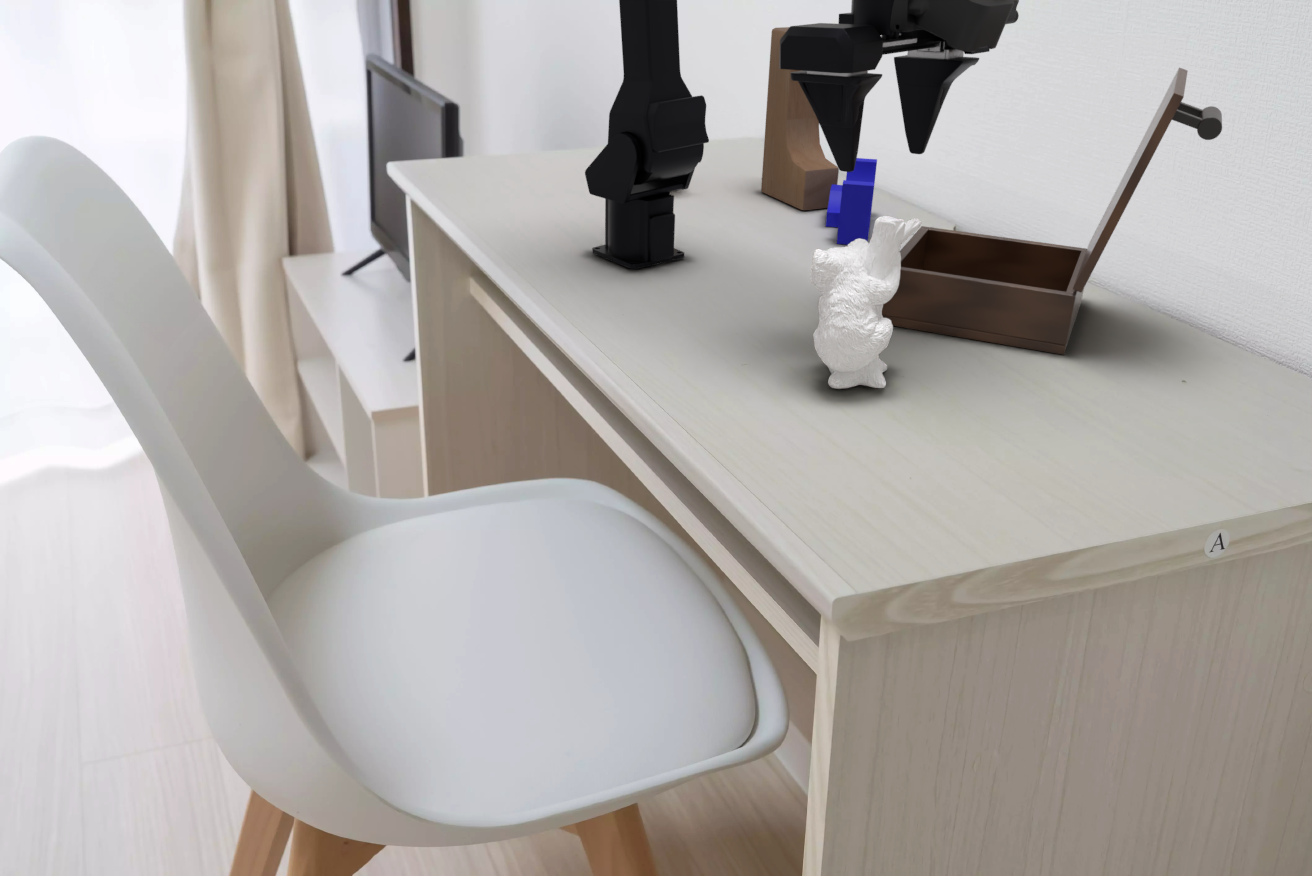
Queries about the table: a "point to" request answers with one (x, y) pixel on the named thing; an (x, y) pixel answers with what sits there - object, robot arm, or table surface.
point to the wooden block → (793, 142)
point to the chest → (988, 289)
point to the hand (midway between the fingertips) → (882, 162)
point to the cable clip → (853, 202)
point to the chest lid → (1169, 109)
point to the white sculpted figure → (858, 302)
